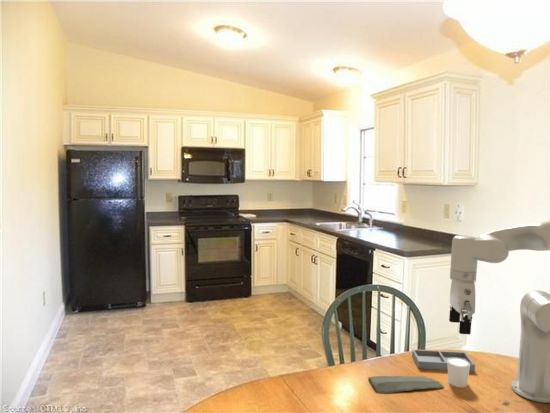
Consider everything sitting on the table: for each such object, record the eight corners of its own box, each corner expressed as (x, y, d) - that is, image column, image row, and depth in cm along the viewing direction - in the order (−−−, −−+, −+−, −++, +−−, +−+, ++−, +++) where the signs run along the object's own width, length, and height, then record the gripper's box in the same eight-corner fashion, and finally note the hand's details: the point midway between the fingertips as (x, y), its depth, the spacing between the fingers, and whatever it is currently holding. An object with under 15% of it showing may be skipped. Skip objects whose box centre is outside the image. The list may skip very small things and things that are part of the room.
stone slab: (366, 383, 137) (378, 395, 127) (366, 374, 137) (378, 386, 127) (430, 380, 140) (446, 392, 130) (430, 371, 140) (446, 382, 130)
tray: (412, 355, 153) (412, 349, 153) (464, 358, 151) (465, 352, 151) (418, 368, 144) (418, 361, 143) (474, 371, 142) (475, 364, 142)
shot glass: (470, 381, 135) (472, 360, 135) (467, 390, 130) (468, 369, 129) (448, 375, 139) (449, 355, 138) (443, 384, 133) (444, 363, 133)
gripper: (486, 283, 122) (482, 339, 124) (465, 268, 139) (462, 318, 141) (459, 281, 123) (456, 338, 124) (442, 267, 140) (439, 317, 142)
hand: (459, 327), depth 133 cm, fingers open, 9 cm apart
